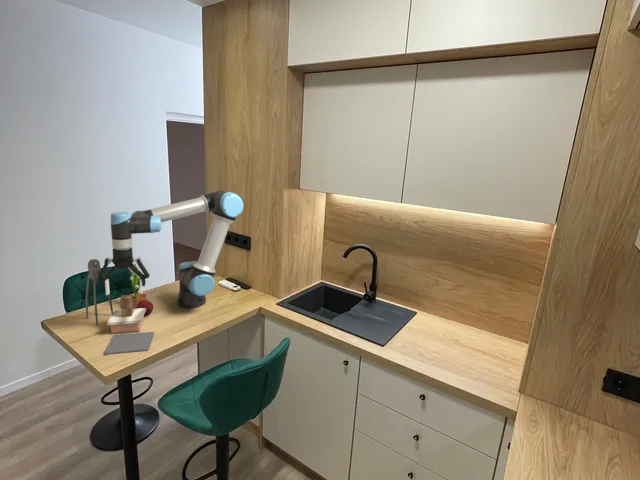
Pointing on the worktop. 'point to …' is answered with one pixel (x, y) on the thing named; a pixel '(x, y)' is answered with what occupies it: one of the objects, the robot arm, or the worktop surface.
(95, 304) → the juicer
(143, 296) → the potted flower
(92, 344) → the worktop surface
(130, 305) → the lid
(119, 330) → the dish
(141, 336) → the mat
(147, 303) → the apple
